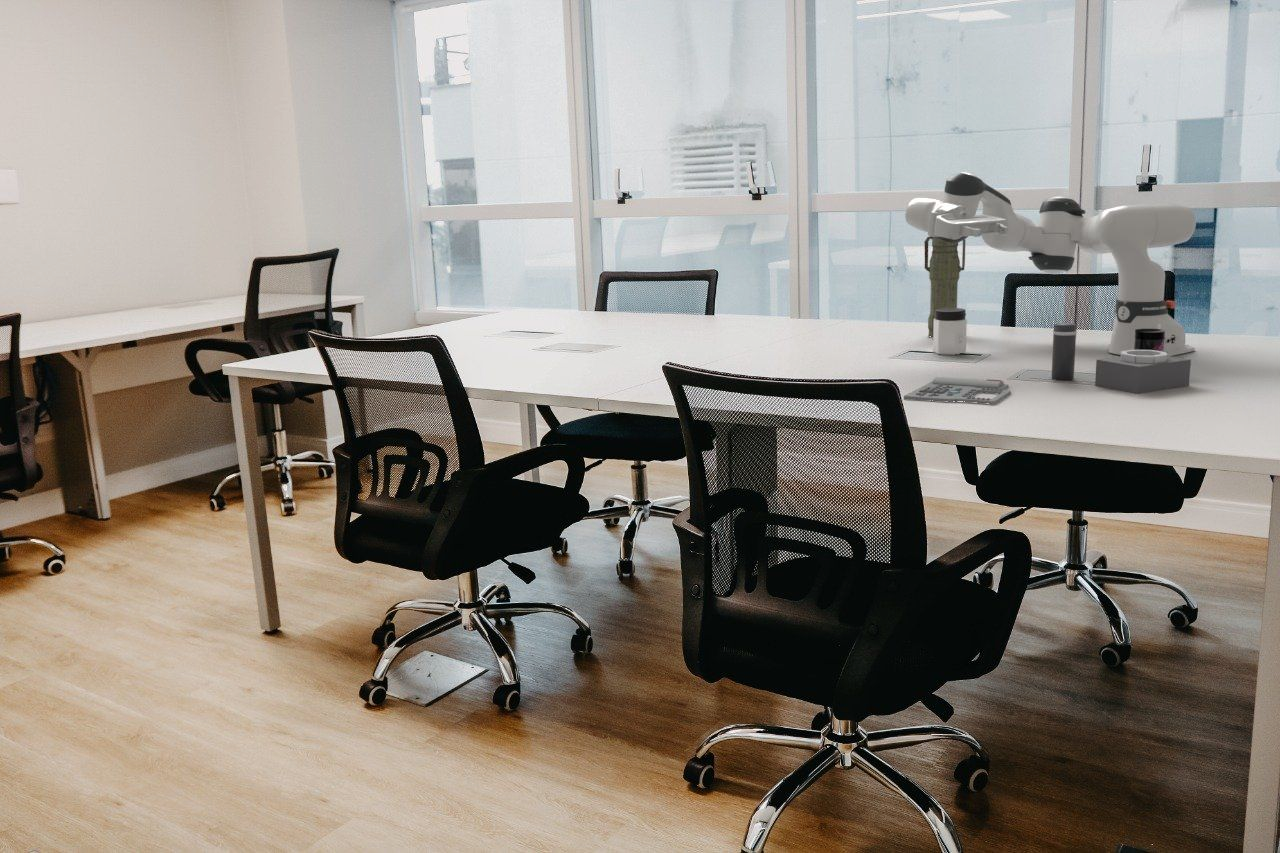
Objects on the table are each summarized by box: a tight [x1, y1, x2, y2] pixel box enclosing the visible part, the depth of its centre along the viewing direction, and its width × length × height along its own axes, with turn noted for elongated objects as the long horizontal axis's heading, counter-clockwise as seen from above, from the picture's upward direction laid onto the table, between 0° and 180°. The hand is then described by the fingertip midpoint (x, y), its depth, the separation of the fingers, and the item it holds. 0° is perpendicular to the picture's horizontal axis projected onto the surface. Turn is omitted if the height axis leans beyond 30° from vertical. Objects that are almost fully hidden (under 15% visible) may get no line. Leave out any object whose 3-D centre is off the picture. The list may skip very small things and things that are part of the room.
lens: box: [1051, 322, 1078, 381], centre depth 261 cm, size 5×5×13 cm
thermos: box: [924, 236, 966, 338], centre depth 331 cm, size 9×12×35 cm
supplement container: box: [1134, 329, 1165, 352], centre depth 264 cm, size 7×7×10 cm
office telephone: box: [903, 376, 1012, 405], centre depth 251 cm, size 23×3×20 cm
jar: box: [932, 307, 968, 356], centre depth 304 cm, size 9×8×12 cm
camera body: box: [1094, 350, 1192, 394], centre depth 250 cm, size 16×12×8 cm
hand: (992, 232), depth 276 cm, fingers open, 8 cm apart
